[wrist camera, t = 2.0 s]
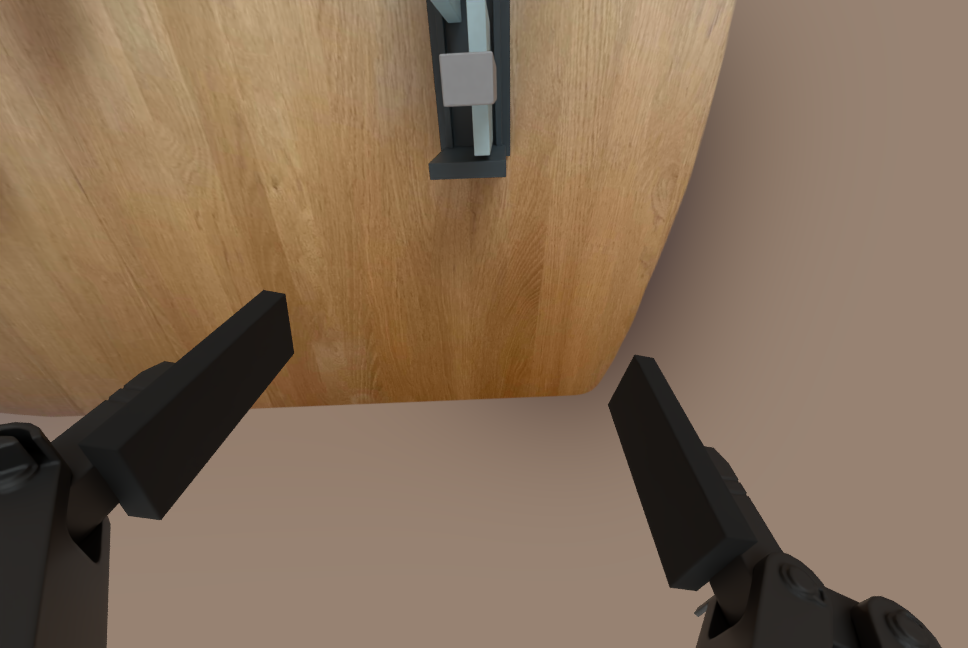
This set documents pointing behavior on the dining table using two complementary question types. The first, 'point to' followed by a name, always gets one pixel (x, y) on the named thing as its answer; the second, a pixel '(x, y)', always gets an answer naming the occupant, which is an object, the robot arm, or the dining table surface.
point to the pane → (473, 76)
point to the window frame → (457, 121)
